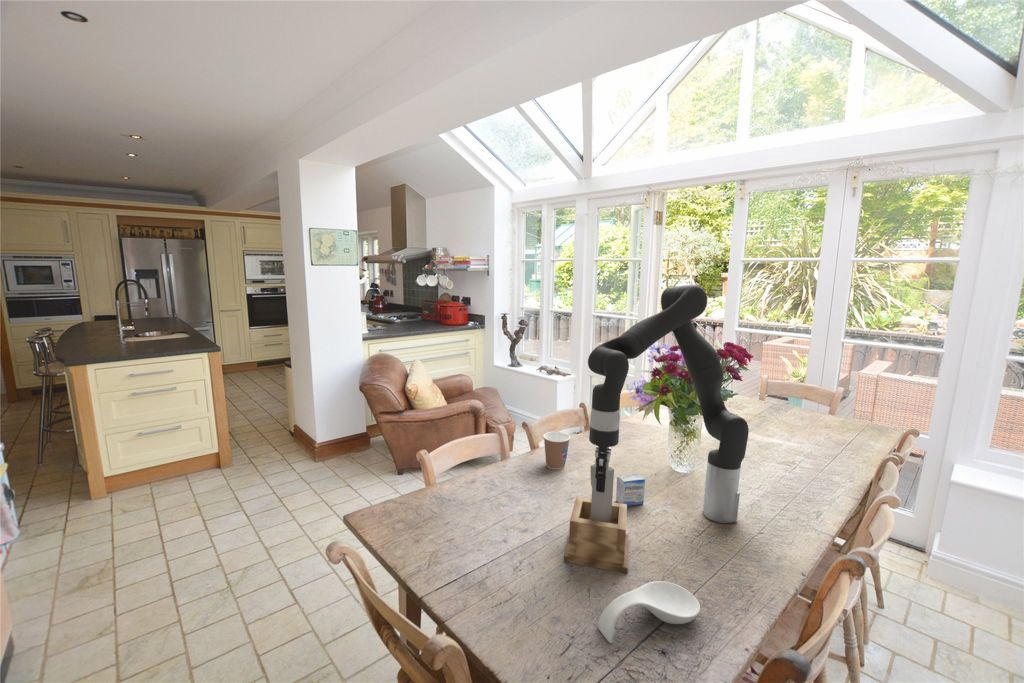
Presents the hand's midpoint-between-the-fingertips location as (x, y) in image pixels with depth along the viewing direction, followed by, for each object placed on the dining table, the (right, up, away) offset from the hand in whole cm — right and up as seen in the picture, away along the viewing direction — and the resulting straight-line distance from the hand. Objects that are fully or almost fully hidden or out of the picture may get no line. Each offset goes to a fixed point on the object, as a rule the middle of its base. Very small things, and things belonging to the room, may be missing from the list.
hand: (601, 485), depth 119 cm
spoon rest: (+6, -23, -21) cm, 32 cm away
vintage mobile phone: (0, -12, +2) cm, 12 cm away
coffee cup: (-7, -10, +55) cm, 56 cm away
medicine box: (+15, -15, +28) cm, 35 cm away
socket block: (0, -18, +3) cm, 19 cm away
